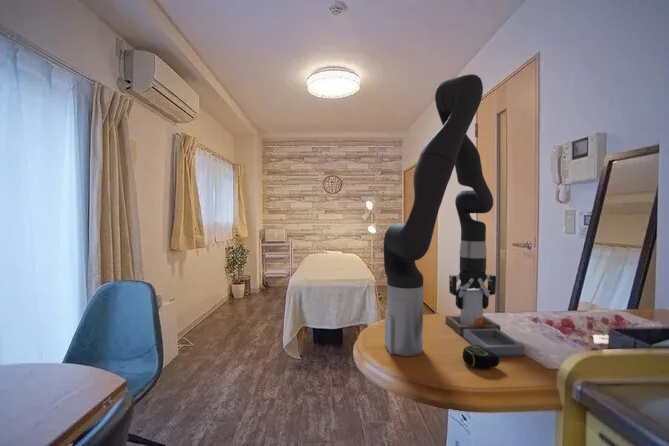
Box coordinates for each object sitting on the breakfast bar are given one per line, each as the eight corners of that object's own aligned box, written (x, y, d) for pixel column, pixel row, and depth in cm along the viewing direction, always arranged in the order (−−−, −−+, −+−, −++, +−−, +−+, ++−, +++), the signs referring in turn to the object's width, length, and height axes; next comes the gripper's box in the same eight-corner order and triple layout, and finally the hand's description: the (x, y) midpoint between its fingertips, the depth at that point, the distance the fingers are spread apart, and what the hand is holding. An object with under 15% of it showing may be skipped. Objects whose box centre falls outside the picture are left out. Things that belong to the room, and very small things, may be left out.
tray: (486, 357, 80) (486, 347, 80) (463, 338, 92) (463, 329, 92) (524, 355, 81) (524, 346, 81) (497, 337, 93) (497, 328, 93)
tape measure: (500, 370, 74) (501, 354, 74) (476, 374, 72) (477, 358, 72) (479, 357, 80) (479, 342, 80) (456, 361, 78) (456, 346, 78)
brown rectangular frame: (459, 335, 94) (459, 327, 94) (445, 323, 104) (445, 315, 104) (500, 334, 95) (500, 325, 95) (482, 322, 105) (482, 314, 105)
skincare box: (472, 333, 96) (473, 293, 95) (459, 328, 99) (460, 290, 99) (483, 328, 100) (483, 290, 99) (470, 324, 103) (470, 287, 102)
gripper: (455, 257, 94) (454, 312, 95) (502, 256, 95) (501, 311, 96) (445, 253, 102) (444, 305, 102) (488, 253, 103) (487, 304, 103)
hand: (472, 308), depth 99 cm, fingers closed on skincare box, 7 cm apart
